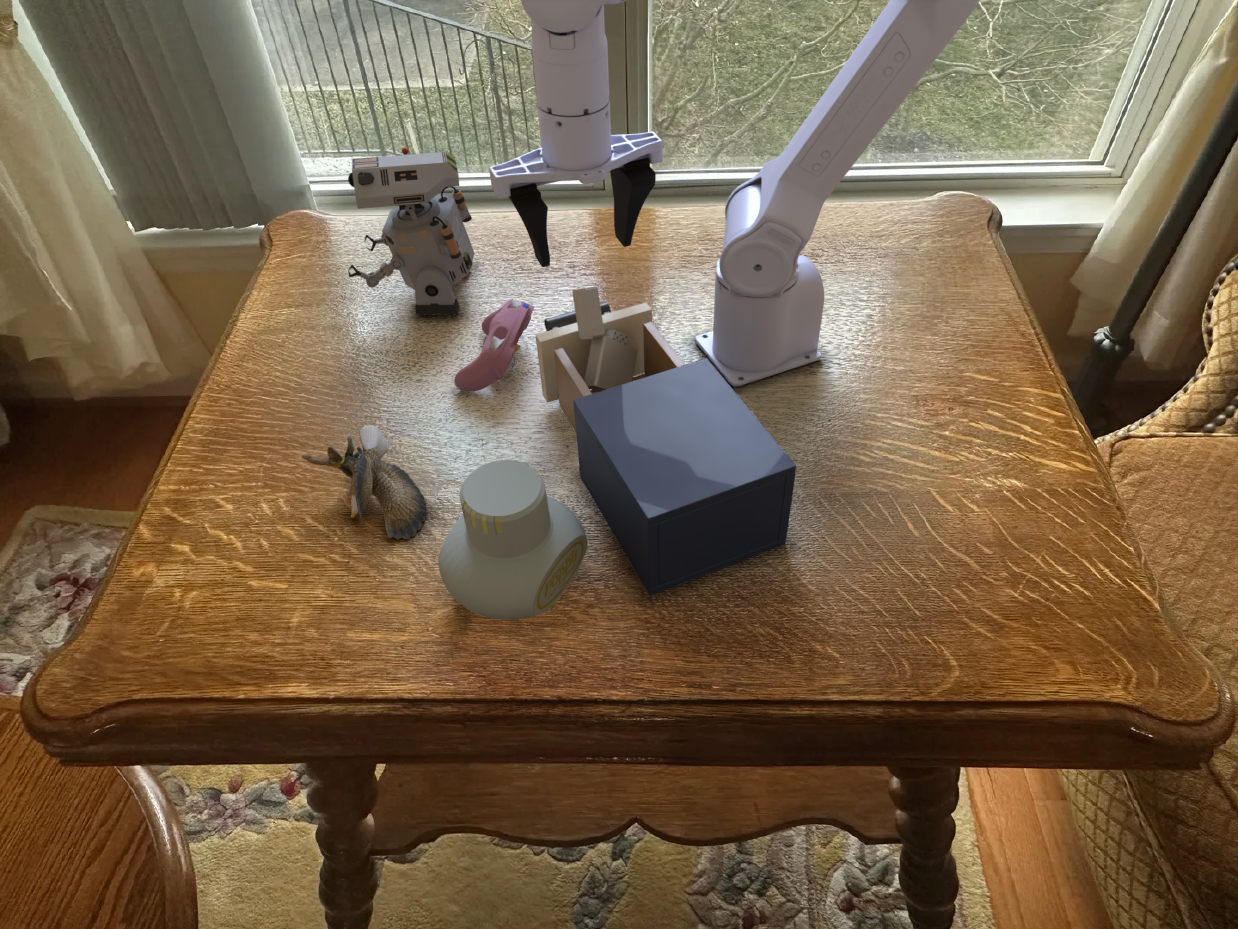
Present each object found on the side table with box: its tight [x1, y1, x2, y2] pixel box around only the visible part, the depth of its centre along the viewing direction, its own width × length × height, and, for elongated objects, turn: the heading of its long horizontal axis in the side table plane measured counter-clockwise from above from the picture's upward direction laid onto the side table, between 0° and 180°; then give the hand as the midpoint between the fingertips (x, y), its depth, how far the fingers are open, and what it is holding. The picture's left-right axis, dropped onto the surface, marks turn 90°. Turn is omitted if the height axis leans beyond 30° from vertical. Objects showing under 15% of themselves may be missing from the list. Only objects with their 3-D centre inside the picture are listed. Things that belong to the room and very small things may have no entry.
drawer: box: [534, 301, 686, 434], centre depth 81 cm, size 17×10×7 cm, turn 24°
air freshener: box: [437, 459, 588, 621], centre depth 67 cm, size 11×8×10 cm
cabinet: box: [573, 357, 797, 597], centre depth 72 cm, size 14×12×9 cm
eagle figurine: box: [301, 424, 428, 540], centre depth 75 cm, size 8×7×9 cm
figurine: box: [347, 147, 475, 318], centre depth 93 cm, size 9×12×15 cm
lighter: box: [572, 286, 638, 392], centre depth 80 cm, size 7×2×8 cm
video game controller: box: [454, 297, 535, 393], centre depth 87 cm, size 10×5×7 cm, turn 168°
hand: (583, 250), depth 84 cm, fingers open, 7 cm apart
